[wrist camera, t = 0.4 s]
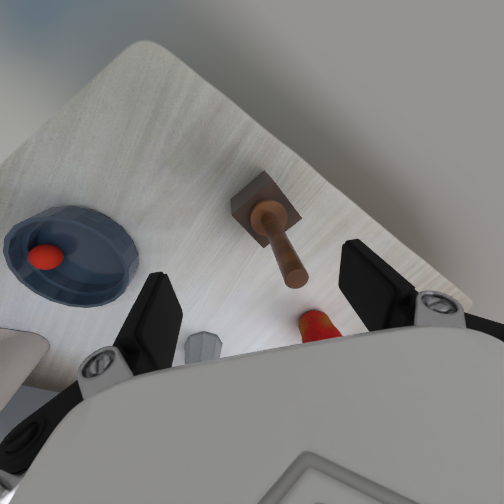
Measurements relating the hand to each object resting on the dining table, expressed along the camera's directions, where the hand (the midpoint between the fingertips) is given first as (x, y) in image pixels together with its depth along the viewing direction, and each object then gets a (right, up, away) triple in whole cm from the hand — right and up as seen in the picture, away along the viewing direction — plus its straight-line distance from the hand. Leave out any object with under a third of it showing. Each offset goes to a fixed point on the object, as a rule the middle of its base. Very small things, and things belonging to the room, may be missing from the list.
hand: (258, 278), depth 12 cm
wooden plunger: (+2, +6, +18) cm, 19 cm away
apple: (+14, -14, +40) cm, 44 cm away
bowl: (-28, +2, +25) cm, 38 cm away
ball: (-32, +1, +22) cm, 39 cm away
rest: (+1, +10, +24) cm, 26 cm away
